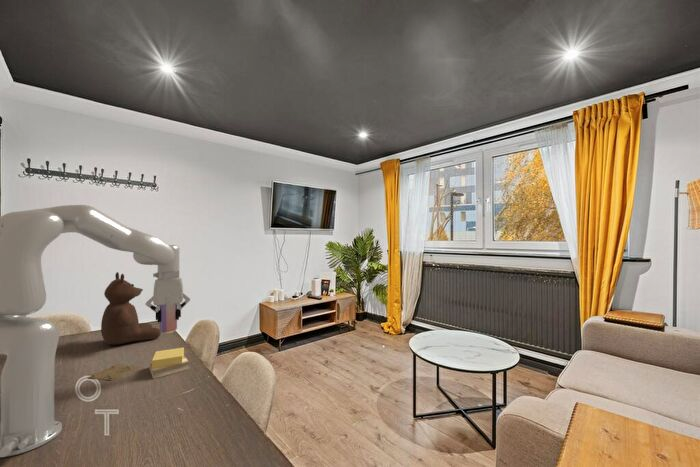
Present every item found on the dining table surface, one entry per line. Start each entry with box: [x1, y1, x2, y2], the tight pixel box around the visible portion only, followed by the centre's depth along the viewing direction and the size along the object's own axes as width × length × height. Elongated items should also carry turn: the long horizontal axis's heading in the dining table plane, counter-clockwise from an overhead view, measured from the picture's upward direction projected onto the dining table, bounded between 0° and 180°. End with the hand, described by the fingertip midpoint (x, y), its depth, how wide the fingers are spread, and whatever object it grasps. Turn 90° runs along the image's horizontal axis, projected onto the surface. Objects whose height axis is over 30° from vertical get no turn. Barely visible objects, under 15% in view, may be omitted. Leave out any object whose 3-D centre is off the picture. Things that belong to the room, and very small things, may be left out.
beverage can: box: [159, 295, 178, 334], centre depth 119 cm, size 6×6×15 cm
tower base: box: [148, 355, 190, 380], centre depth 119 cm, size 12×12×3 cm
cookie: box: [87, 363, 141, 382], centre depth 116 cm, size 12×12×1 cm
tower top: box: [151, 347, 185, 368], centre depth 119 cm, size 10×10×3 cm
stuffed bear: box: [100, 271, 162, 346], centre depth 152 cm, size 29×23×35 cm
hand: (168, 319), depth 119 cm, fingers closed on beverage can, 5 cm apart
